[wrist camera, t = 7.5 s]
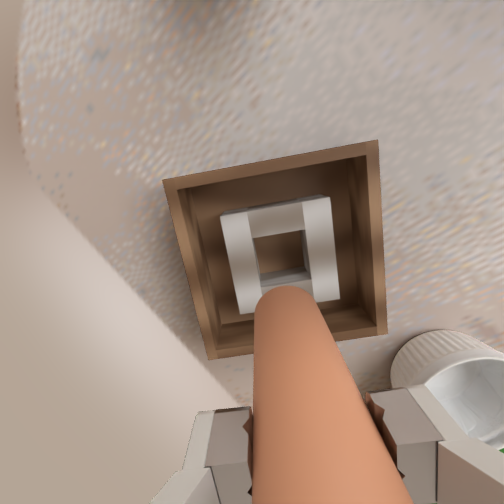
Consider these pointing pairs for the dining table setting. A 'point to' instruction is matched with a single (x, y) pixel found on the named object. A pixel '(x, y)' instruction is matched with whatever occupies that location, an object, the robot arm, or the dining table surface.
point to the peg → (311, 414)
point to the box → (283, 242)
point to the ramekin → (457, 380)
